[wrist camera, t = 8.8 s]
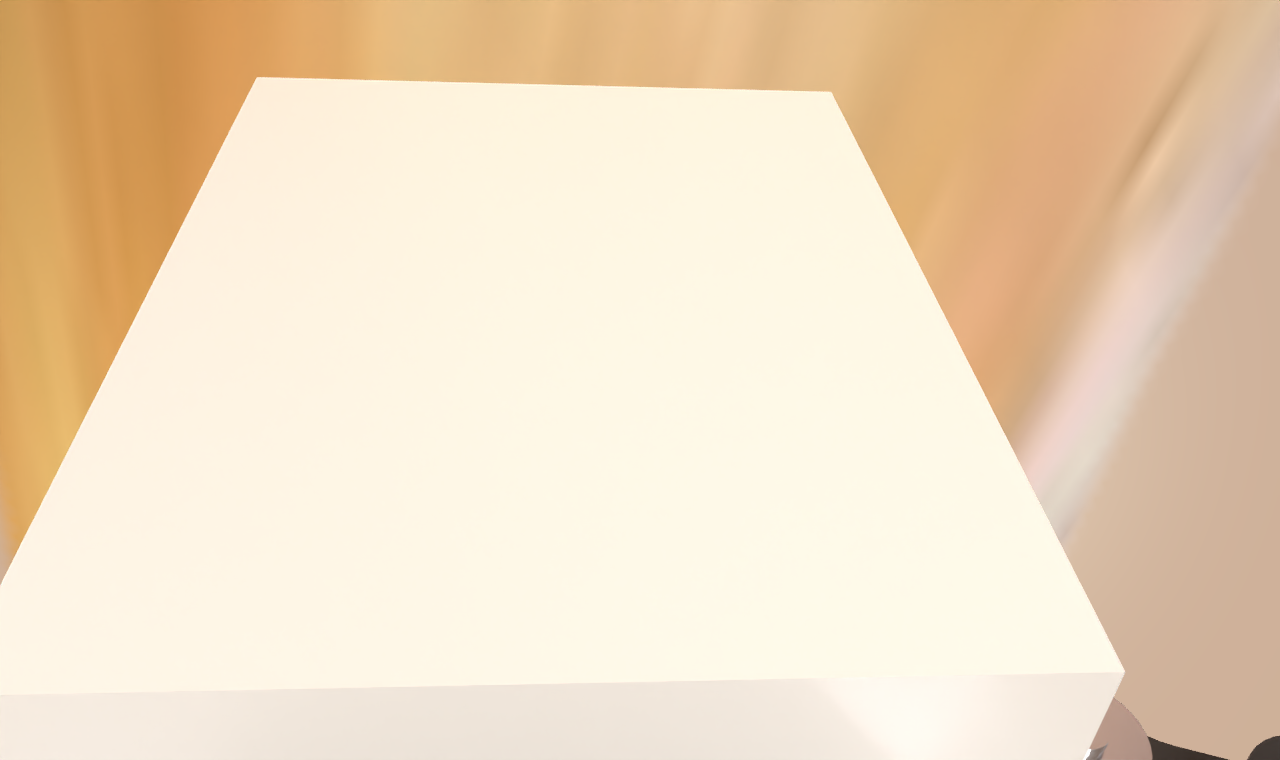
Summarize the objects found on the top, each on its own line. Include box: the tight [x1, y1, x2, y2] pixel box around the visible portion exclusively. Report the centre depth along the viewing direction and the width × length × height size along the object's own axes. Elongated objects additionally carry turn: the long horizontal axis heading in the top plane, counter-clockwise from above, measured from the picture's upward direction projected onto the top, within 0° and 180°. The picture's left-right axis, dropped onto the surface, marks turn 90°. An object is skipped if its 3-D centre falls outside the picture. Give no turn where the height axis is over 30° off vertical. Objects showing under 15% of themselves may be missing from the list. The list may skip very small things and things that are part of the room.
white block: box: [0, 77, 1125, 760], centre depth 12 cm, size 7×7×9 cm
